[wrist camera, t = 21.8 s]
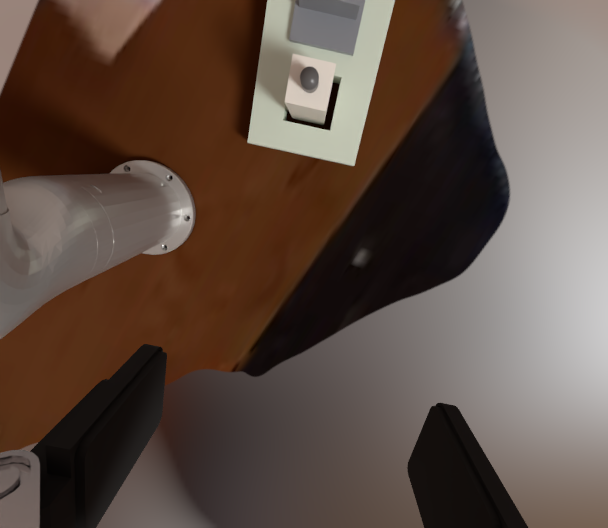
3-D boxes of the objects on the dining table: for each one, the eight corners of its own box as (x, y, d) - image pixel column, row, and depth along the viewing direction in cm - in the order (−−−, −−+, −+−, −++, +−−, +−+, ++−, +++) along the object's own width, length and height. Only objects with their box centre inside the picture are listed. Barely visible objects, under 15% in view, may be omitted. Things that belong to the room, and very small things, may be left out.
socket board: (252, 144, 39) (247, 142, 37) (280, -50, 33) (277, -70, 31) (351, 165, 40) (354, 165, 37) (396, -22, 34) (404, -40, 31)
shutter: (289, 41, 33) (286, 27, 30) (302, -38, 31) (301, -64, 28) (352, 56, 33) (357, 43, 30) (370, -23, 31) (376, -46, 28)
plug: (292, 118, 38) (282, 97, 27) (298, 82, 37) (291, 45, 26) (323, 125, 38) (327, 107, 27) (331, 90, 37) (337, 55, 26)
